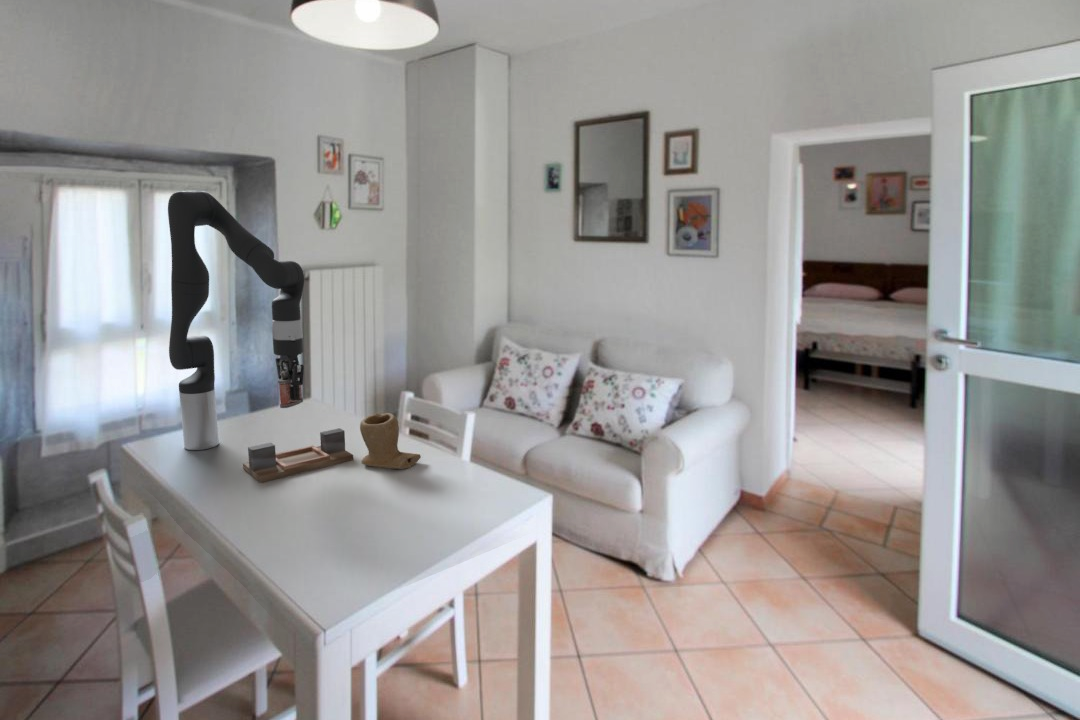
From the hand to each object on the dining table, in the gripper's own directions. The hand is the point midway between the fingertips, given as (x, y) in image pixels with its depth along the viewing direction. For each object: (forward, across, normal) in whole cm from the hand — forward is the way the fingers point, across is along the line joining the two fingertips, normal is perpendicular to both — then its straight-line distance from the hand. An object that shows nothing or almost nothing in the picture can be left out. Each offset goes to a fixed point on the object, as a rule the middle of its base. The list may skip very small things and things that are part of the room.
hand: (291, 397), depth 170 cm
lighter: (+2, 0, 0) cm, 2 cm away
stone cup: (+20, +16, +20) cm, 32 cm away
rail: (+20, 0, +1) cm, 20 cm away
